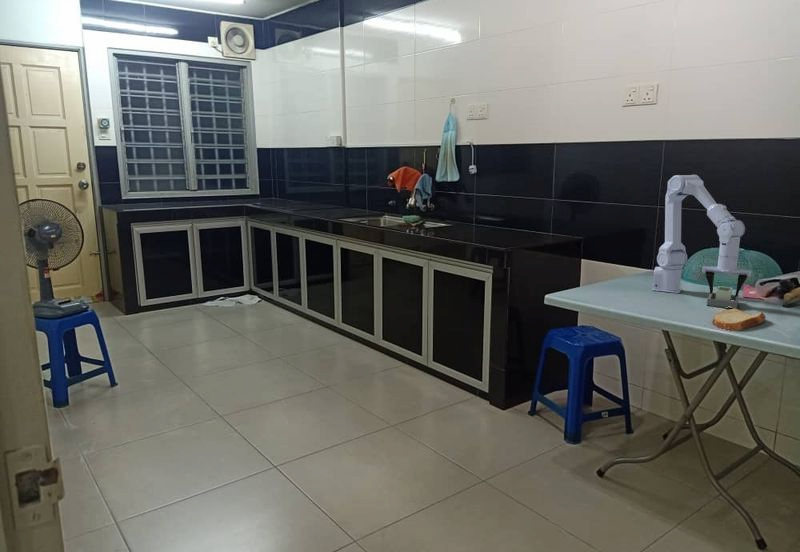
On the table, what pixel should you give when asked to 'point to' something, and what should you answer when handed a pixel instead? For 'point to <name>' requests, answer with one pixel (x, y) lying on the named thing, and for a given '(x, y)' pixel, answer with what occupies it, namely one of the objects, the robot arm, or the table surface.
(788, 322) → the table surface
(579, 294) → the table surface
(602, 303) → the table surface
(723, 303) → the grey rectangular tray
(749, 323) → the bread slice
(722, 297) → the small crate
